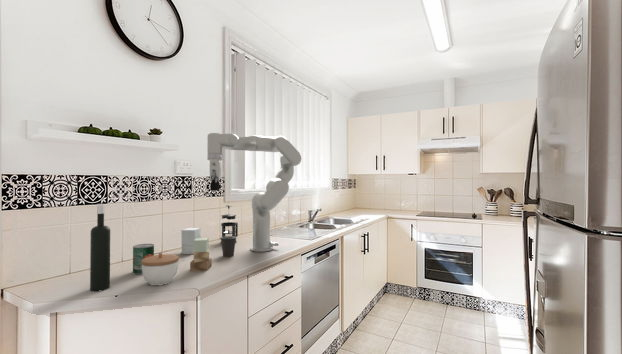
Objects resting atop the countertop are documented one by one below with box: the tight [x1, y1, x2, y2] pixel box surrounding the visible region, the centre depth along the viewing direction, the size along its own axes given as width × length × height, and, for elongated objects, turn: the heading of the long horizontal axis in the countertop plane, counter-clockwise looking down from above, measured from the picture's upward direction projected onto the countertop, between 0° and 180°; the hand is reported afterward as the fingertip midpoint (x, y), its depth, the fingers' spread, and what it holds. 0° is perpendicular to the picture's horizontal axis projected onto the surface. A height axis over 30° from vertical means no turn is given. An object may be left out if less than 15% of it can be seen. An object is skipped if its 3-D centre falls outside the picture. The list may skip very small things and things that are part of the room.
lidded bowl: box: [141, 252, 180, 286], centre depth 114 cm, size 13×13×11 cm
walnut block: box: [189, 257, 213, 272], centre depth 132 cm, size 7×7×4 cm
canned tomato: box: [132, 243, 155, 275], centre depth 128 cm, size 8×8×11 cm
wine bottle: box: [89, 203, 111, 292], centre depth 108 cm, size 6×6×30 cm
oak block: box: [193, 249, 210, 262], centre depth 132 cm, size 6×6×4 cm
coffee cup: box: [219, 235, 237, 258], centre depth 155 cm, size 8×8×10 cm
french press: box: [220, 204, 239, 245], centre depth 188 cm, size 12×9×23 cm
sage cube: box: [194, 237, 210, 252], centre depth 132 cm, size 5×5×5 cm
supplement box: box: [180, 227, 202, 255], centre depth 162 cm, size 7×7×13 cm
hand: (215, 190), depth 157 cm, fingers open, 9 cm apart
